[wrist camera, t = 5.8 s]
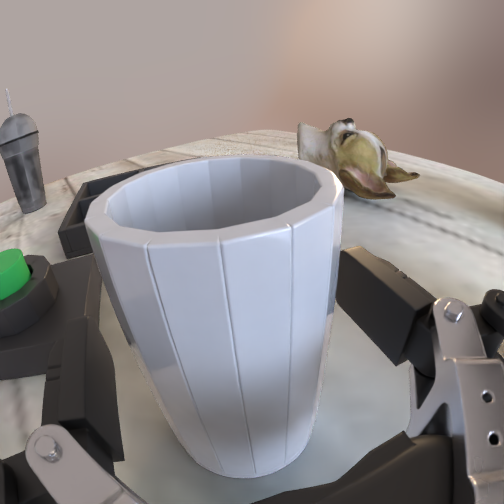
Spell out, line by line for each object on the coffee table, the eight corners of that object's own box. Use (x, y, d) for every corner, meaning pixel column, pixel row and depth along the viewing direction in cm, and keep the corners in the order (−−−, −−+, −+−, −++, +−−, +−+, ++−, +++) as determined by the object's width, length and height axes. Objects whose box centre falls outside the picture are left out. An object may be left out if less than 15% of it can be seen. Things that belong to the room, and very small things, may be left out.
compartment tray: (202, 175, 44) (200, 157, 42) (240, 218, 30) (238, 190, 28) (87, 201, 39) (82, 182, 38) (66, 259, 25) (57, 232, 24)
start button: (36, 266, 17) (27, 243, 16) (23, 297, 14) (11, 271, 13) (-3, 277, 16) (-13, 255, 15) (-19, 308, 13) (-32, 284, 12)
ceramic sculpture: (321, 107, 39) (427, 129, 30) (319, 166, 44) (417, 196, 35) (271, 114, 33) (400, 138, 24) (271, 185, 37) (387, 225, 29)
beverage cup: (60, 195, 44) (39, 79, 34) (42, 212, 38) (16, 81, 28) (28, 203, 44) (6, 94, 34) (8, 220, 37) (-19, 98, 27)
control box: (102, 278, 22) (87, 231, 20) (98, 364, 15) (69, 307, 13) (-8, 305, 19) (-27, 265, 17) (-38, 385, 12) (-71, 339, 10)
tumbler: (280, 354, 15) (274, 146, 10) (338, 445, 10) (400, 203, 5) (167, 387, 14) (98, 179, 9) (198, 495, 9) (64, 280, 4)
